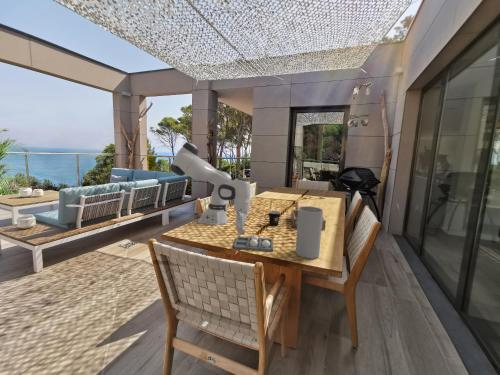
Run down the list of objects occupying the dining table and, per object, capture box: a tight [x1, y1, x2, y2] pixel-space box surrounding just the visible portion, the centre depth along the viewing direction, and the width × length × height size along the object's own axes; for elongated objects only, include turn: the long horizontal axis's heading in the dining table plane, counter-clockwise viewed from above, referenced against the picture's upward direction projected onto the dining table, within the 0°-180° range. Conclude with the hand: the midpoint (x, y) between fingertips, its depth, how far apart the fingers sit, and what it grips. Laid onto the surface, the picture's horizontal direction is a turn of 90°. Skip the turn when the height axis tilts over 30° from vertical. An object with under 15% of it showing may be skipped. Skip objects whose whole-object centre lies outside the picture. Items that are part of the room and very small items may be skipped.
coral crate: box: [290, 209, 327, 231], centre depth 173 cm, size 22×25×7 cm
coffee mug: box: [263, 210, 281, 227], centre depth 167 cm, size 12×9×10 cm
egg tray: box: [232, 236, 274, 252], centre depth 129 cm, size 22×15×2 cm
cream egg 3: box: [262, 240, 270, 248], centre depth 125 cm, size 5×5×5 cm
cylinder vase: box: [295, 205, 324, 260], centre depth 119 cm, size 12×12×25 cm
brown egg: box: [236, 226, 246, 235], centre depth 125 cm, size 5×5×5 cm
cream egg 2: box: [250, 239, 258, 247], centre depth 126 cm, size 5×5×5 cm
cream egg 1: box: [251, 234, 259, 241], centre depth 132 cm, size 5×5×5 cm
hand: (241, 231), depth 125 cm, fingers closed on brown egg, 5 cm apart
